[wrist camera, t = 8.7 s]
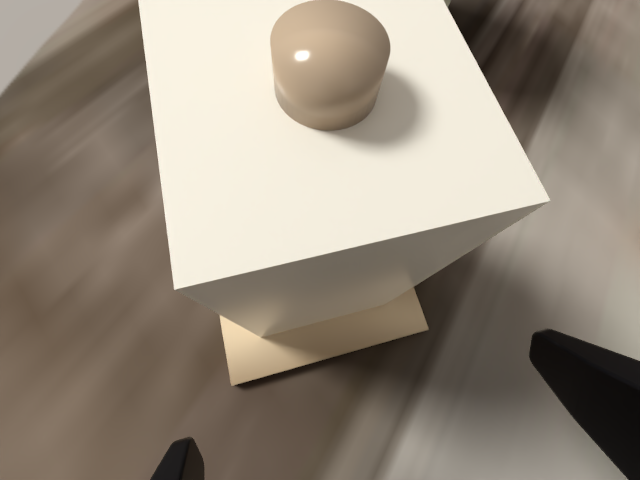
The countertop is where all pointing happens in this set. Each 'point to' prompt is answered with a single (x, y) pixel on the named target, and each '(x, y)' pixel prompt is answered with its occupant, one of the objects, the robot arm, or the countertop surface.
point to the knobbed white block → (323, 153)
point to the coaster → (319, 338)
